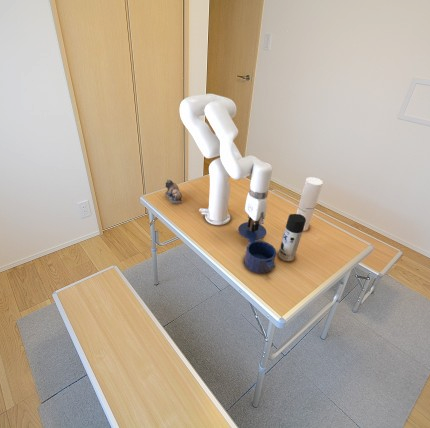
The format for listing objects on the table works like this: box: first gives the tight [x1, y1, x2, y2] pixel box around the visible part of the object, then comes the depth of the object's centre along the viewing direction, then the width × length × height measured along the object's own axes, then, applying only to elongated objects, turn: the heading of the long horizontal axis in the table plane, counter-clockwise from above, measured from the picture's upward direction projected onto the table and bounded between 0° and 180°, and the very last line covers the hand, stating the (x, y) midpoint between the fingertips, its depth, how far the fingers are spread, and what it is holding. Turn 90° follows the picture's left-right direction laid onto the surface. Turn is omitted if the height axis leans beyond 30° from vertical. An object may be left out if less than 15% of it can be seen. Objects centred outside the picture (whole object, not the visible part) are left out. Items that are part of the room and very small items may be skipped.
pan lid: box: [237, 218, 267, 241], centre depth 123 cm, size 13×13×7 cm
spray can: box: [278, 213, 306, 262], centre depth 112 cm, size 7×7×20 cm
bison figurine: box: [164, 179, 183, 204], centre depth 147 cm, size 12×7×10 cm, turn 37°
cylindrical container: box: [295, 176, 324, 232], centre depth 129 cm, size 7×7×25 cm
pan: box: [244, 238, 277, 274], centre depth 112 cm, size 12×17×7 cm
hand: (252, 228), depth 124 cm, fingers closed on pan lid, 2 cm apart
